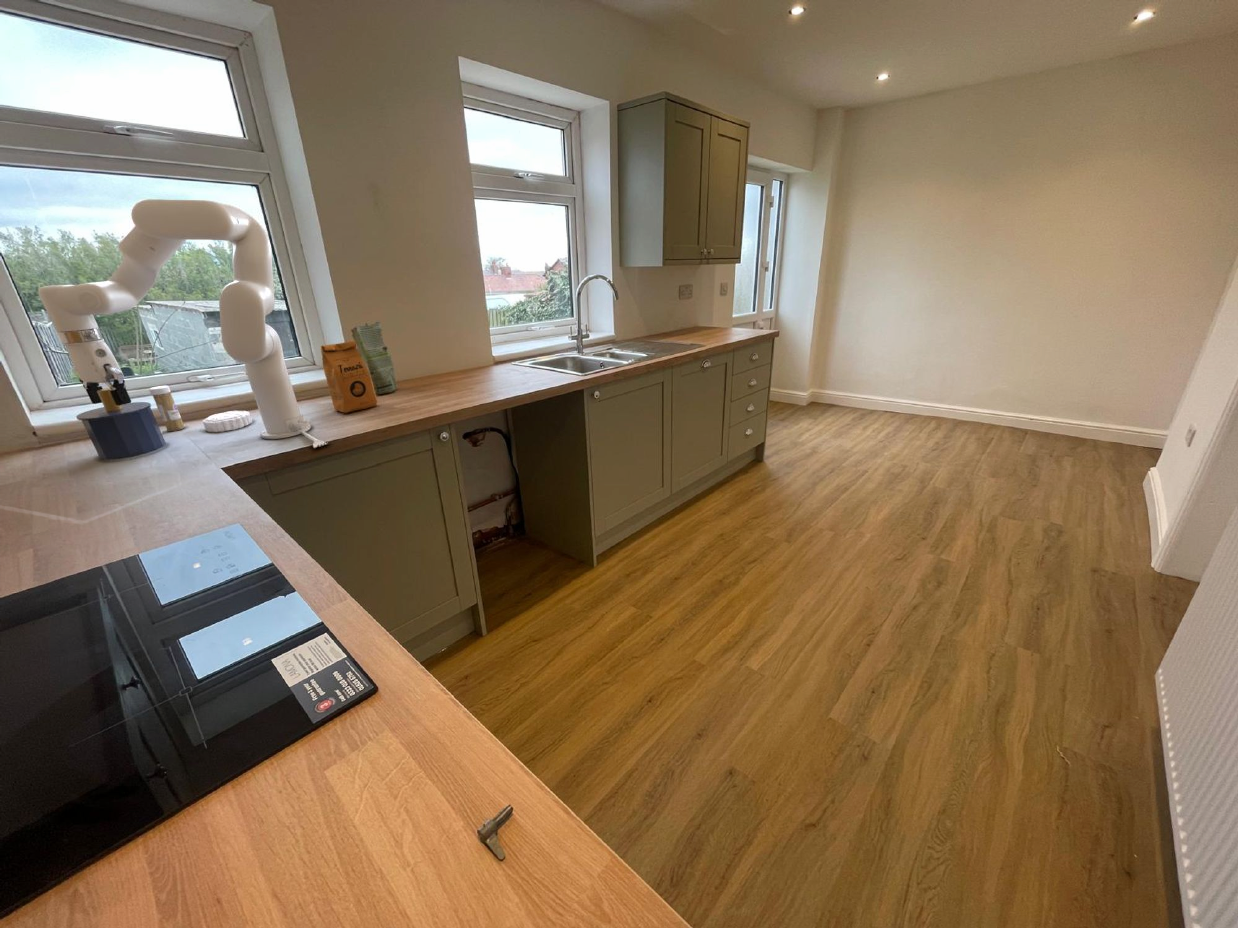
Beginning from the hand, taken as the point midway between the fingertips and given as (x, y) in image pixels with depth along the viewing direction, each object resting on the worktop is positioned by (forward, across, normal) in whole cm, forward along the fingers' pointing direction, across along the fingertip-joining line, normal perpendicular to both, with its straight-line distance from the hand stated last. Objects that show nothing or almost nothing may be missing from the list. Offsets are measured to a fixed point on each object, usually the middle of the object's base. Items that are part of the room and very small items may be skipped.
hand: (112, 403), depth 132 cm
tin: (+14, 0, 0) cm, 14 cm away
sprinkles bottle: (+14, +10, -17) cm, 24 cm away
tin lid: (+2, 0, 0) cm, 2 cm away
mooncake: (+14, -5, -23) cm, 27 cm away
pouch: (+14, -25, -67) cm, 73 cm away
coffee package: (+14, -33, -46) cm, 58 cm away
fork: (+14, -45, -18) cm, 51 cm away
